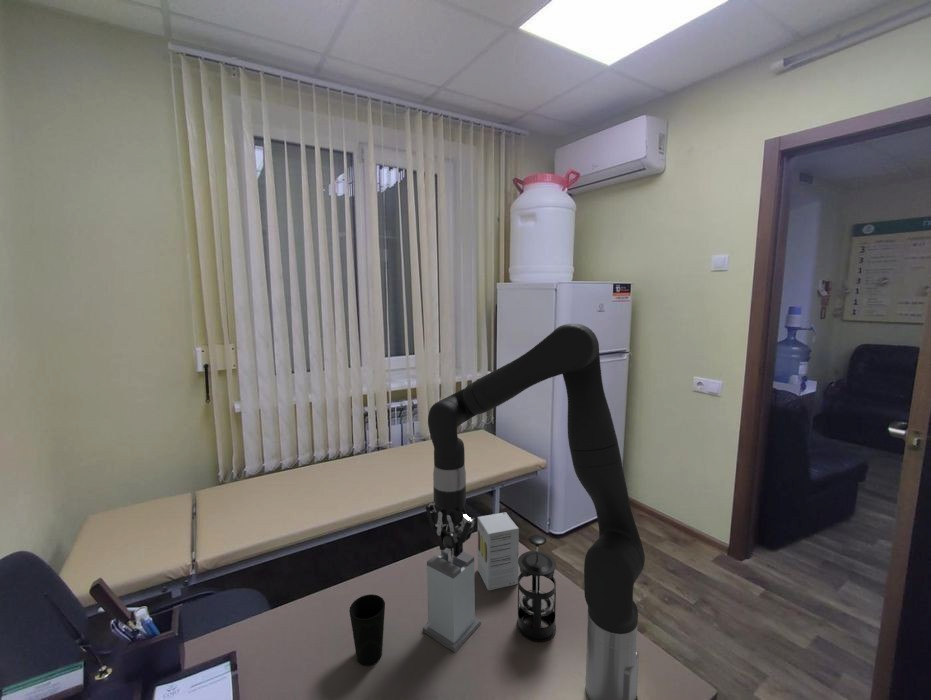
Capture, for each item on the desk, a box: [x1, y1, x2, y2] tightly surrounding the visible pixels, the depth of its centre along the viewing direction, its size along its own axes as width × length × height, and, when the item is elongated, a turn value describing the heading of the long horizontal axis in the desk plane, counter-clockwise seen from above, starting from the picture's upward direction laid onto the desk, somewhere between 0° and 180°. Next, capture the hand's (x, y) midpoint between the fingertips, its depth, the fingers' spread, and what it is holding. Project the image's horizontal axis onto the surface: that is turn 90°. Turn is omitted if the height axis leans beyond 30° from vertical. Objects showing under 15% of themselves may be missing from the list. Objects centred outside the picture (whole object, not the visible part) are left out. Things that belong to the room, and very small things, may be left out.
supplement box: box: [477, 511, 520, 591], centre depth 116 cm, size 10×9×17 cm
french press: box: [516, 534, 557, 643], centre depth 99 cm, size 12×9×23 cm
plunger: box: [443, 531, 454, 564], centre depth 97 cm, size 6×6×17 cm
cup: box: [349, 593, 386, 667], centre depth 91 cm, size 8×8×12 cm
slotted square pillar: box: [422, 548, 482, 653], centre depth 98 cm, size 10×10×18 cm
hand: (450, 551), depth 97 cm, fingers closed on plunger, 3 cm apart
